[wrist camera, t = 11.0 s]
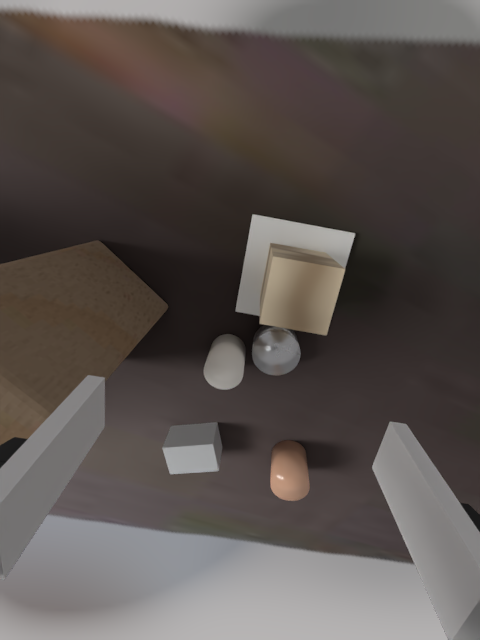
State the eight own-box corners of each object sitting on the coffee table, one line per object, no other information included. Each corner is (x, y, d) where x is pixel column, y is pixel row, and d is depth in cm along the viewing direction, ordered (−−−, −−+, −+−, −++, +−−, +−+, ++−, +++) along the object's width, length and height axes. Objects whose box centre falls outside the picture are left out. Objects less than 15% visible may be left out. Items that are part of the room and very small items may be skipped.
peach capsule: (275, 469, 42) (274, 502, 37) (268, 442, 41) (266, 472, 36) (308, 466, 41) (312, 499, 37) (302, 438, 40) (306, 468, 35)
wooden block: (171, 305, 35) (67, 426, 16) (116, 360, 38) (-26, 516, 19) (99, 237, 33) (-115, 287, 14) (46, 300, 36) (-189, 411, 17)
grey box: (178, 450, 42) (170, 474, 39) (171, 425, 41) (162, 448, 37) (222, 446, 42) (218, 471, 38) (217, 421, 40) (212, 444, 37)
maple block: (259, 295, 33) (259, 323, 26) (270, 242, 31) (273, 256, 24) (311, 305, 33) (326, 335, 26) (325, 252, 31) (345, 269, 24)
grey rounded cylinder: (208, 362, 37) (201, 385, 33) (213, 331, 36) (206, 350, 31) (242, 368, 37) (239, 392, 33) (248, 337, 36) (246, 358, 31)
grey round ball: (249, 357, 37) (248, 370, 34) (257, 317, 35) (256, 327, 32) (291, 365, 37) (294, 379, 34) (302, 325, 35) (305, 336, 32)
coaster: (235, 309, 35) (235, 311, 34) (252, 213, 31) (252, 214, 31) (326, 326, 35) (327, 328, 34) (353, 232, 31) (355, 233, 31)
